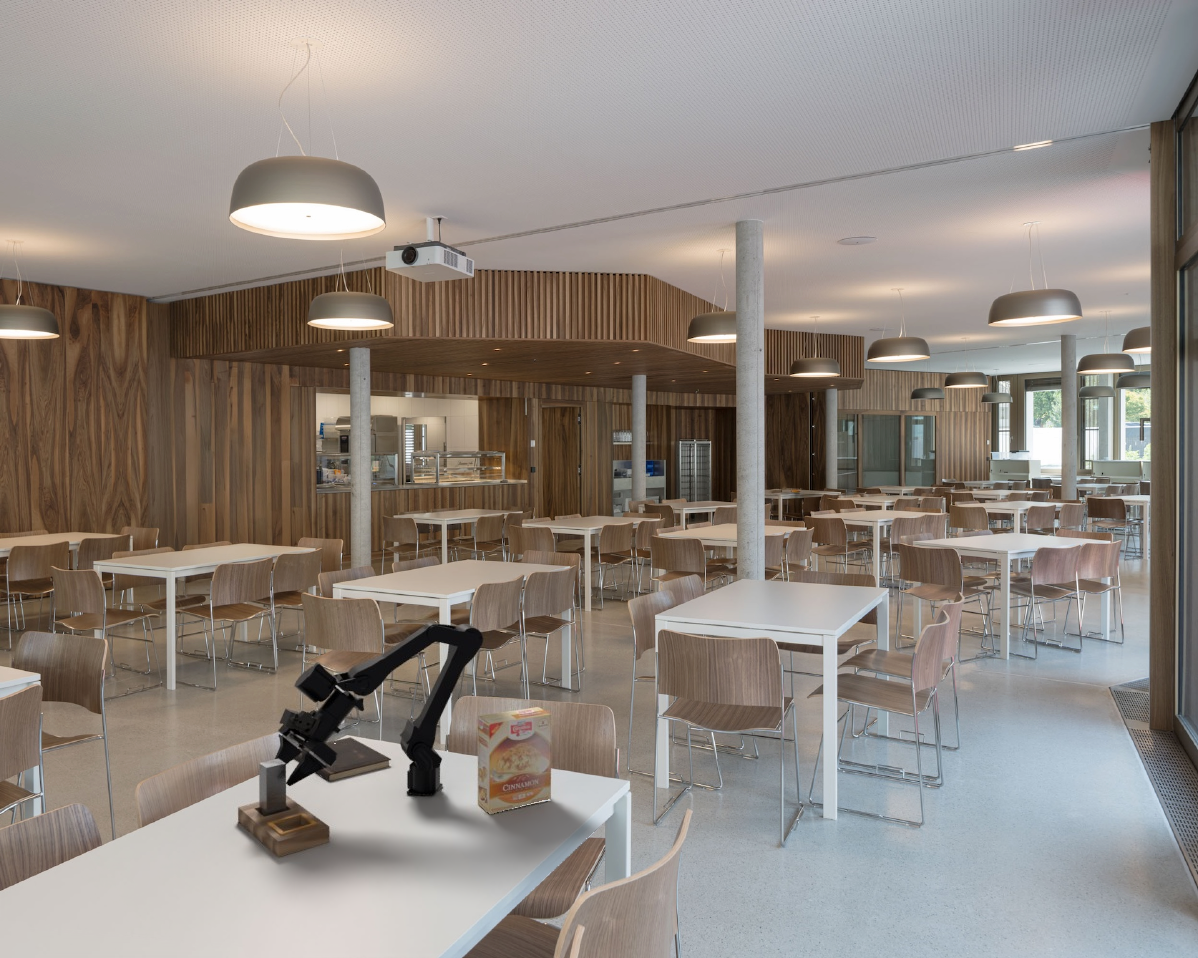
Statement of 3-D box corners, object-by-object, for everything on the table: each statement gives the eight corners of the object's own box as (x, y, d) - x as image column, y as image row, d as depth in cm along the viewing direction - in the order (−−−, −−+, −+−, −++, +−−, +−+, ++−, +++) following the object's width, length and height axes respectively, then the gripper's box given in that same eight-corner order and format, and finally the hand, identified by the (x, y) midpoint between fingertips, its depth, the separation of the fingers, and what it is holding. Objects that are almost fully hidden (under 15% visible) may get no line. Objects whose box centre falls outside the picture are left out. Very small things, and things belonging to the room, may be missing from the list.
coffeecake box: (489, 815, 177) (489, 723, 177) (476, 804, 184) (476, 715, 183) (552, 801, 185) (552, 713, 185) (538, 790, 191) (537, 705, 191)
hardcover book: (350, 745, 225) (350, 736, 225) (391, 767, 208) (390, 758, 208) (291, 759, 215) (291, 750, 215) (328, 783, 197) (328, 773, 197)
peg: (259, 823, 174) (259, 762, 174) (278, 817, 176) (278, 758, 176) (266, 829, 171) (266, 767, 171) (286, 823, 173) (285, 763, 173)
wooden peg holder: (238, 821, 174) (238, 805, 174) (285, 808, 181) (285, 793, 181) (278, 857, 158) (278, 839, 158) (329, 841, 165) (329, 824, 165)
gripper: (287, 685, 185) (235, 746, 178) (323, 702, 171) (268, 769, 164) (321, 714, 190) (272, 774, 183) (359, 733, 176) (307, 799, 169)
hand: (279, 778), depth 174 cm, fingers open, 9 cm apart
